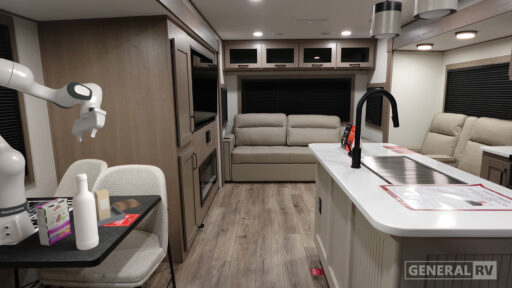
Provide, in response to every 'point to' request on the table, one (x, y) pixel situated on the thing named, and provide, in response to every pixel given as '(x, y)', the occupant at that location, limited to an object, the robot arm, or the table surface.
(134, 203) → the walnut board
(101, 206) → the parts box
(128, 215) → the table surface
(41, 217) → the candy bar box
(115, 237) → the table surface
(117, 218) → the parts bin
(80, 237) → the bottle
